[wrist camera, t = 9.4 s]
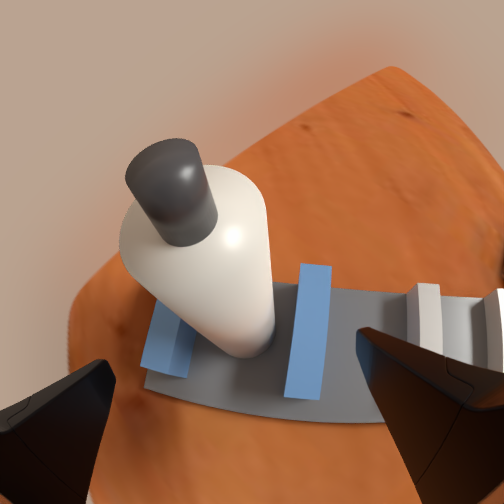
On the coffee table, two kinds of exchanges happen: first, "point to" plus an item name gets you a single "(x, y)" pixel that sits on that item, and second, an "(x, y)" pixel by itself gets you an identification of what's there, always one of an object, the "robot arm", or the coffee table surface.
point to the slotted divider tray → (319, 348)
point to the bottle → (201, 245)
